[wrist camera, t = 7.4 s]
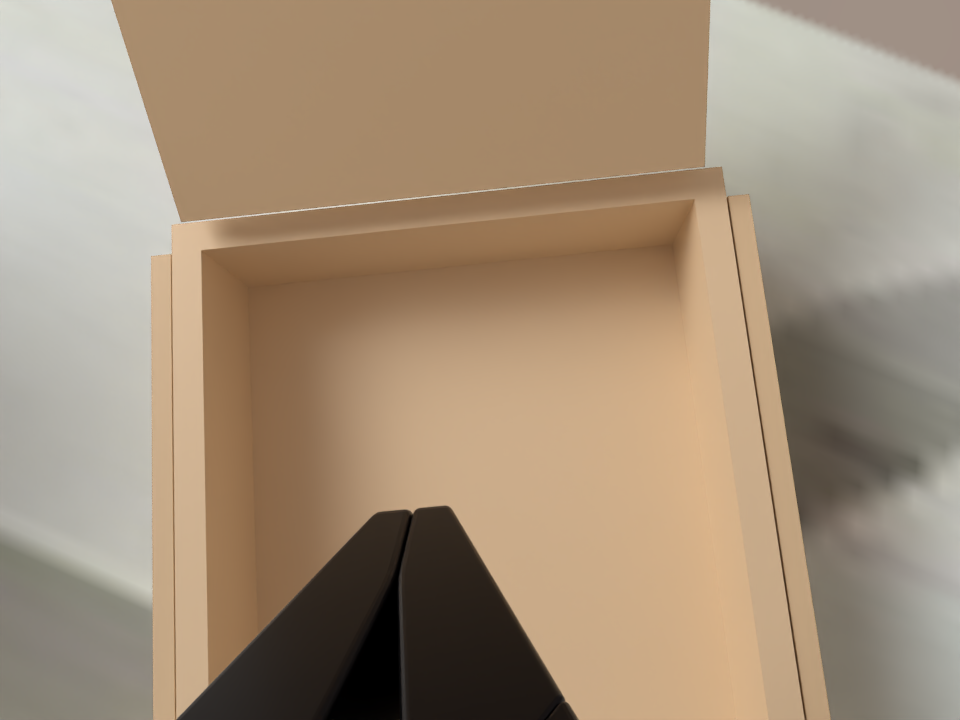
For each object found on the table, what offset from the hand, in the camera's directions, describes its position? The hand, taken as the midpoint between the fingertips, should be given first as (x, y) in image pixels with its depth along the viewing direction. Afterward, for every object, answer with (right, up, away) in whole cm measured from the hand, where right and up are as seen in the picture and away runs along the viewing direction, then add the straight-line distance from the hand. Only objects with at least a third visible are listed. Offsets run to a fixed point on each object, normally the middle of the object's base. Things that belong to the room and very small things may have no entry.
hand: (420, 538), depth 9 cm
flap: (0, +5, +7) cm, 9 cm away
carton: (+1, -4, +8) cm, 10 cm away
